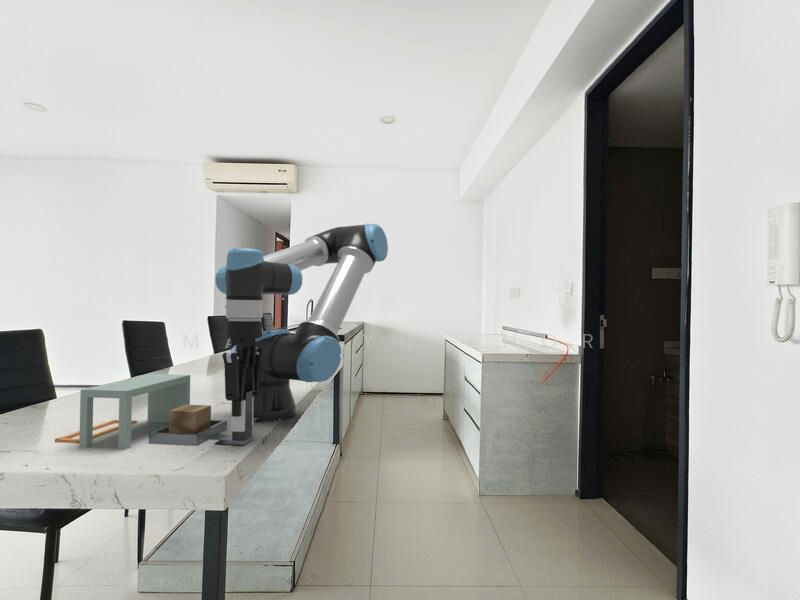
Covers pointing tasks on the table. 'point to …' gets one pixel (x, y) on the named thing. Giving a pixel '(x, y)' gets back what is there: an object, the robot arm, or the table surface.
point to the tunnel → (161, 399)
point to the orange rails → (69, 437)
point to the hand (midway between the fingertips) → (242, 428)
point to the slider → (209, 431)
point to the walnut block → (190, 419)
